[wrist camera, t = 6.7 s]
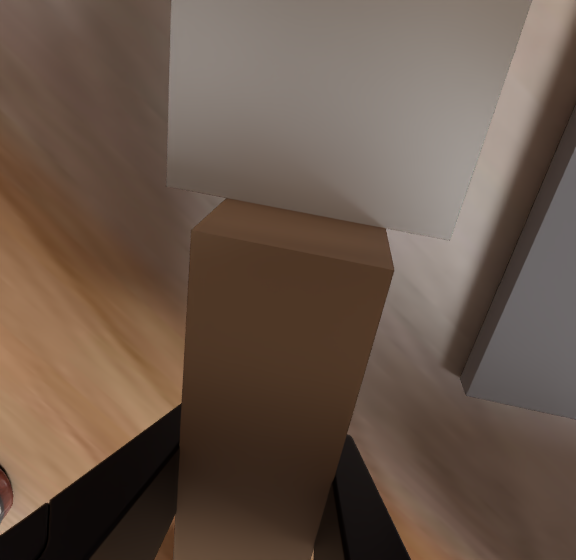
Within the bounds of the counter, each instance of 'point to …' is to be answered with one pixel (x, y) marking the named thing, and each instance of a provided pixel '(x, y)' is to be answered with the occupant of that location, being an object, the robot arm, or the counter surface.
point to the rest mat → (535, 305)
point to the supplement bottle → (5, 495)
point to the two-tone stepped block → (307, 229)
